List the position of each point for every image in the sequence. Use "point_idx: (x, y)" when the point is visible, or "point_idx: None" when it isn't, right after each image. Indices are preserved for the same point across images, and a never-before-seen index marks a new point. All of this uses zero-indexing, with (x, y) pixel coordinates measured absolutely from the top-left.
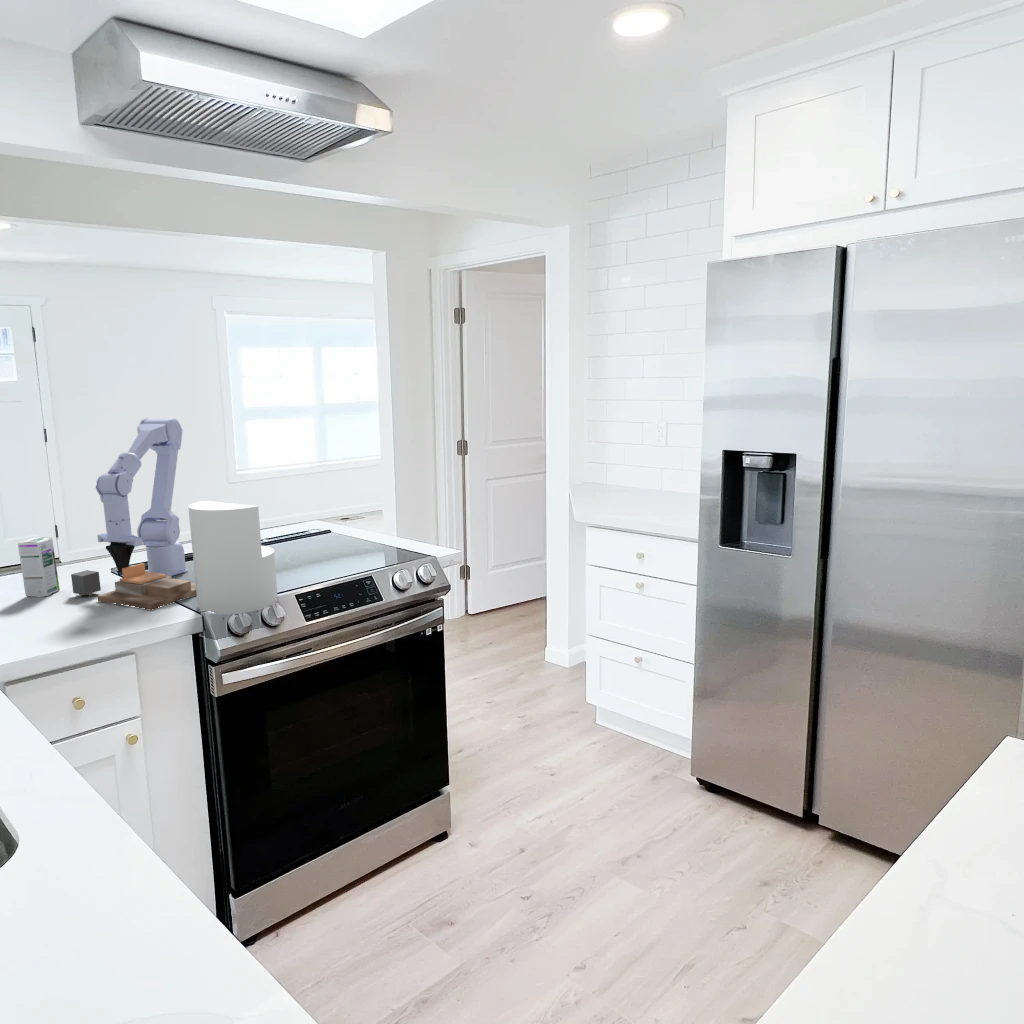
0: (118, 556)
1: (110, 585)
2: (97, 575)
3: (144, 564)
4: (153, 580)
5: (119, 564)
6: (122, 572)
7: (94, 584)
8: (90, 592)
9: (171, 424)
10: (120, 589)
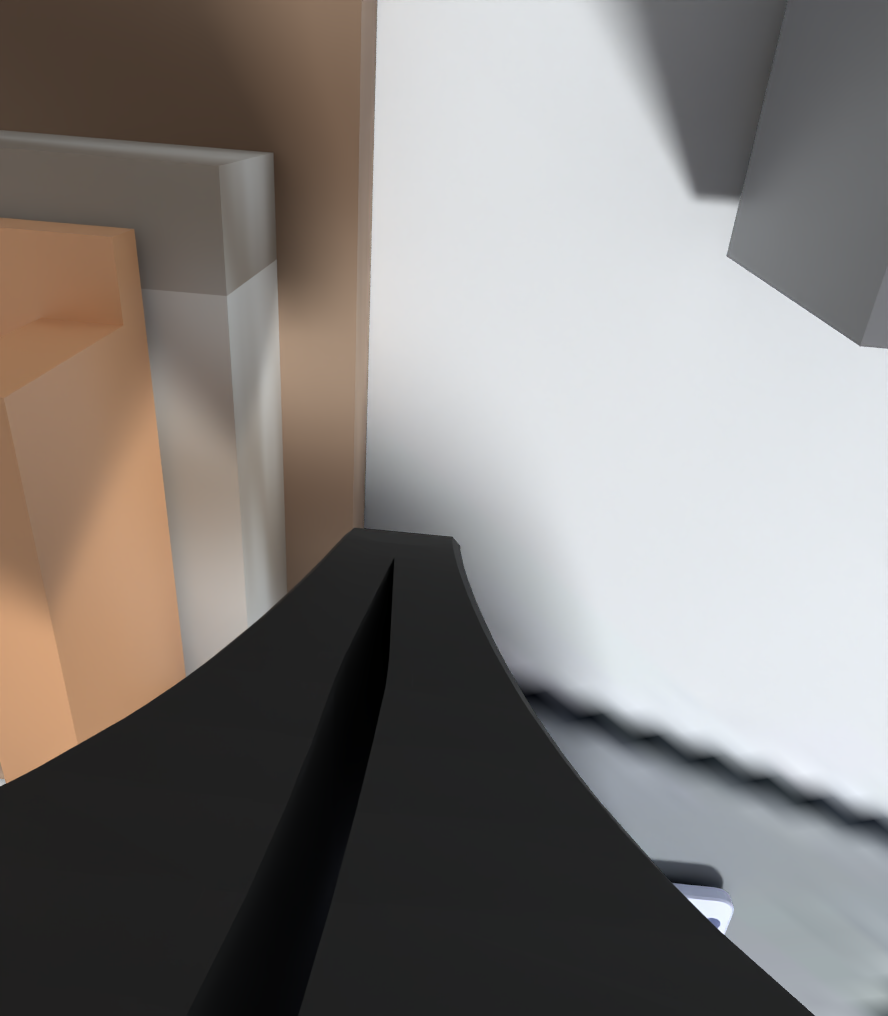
0: (151, 733)
1: (866, 586)
2: (840, 282)
3: None
4: None
5: (305, 594)
6: (58, 361)
7: (802, 155)
8: (784, 37)
9: None
10: (119, 143)
